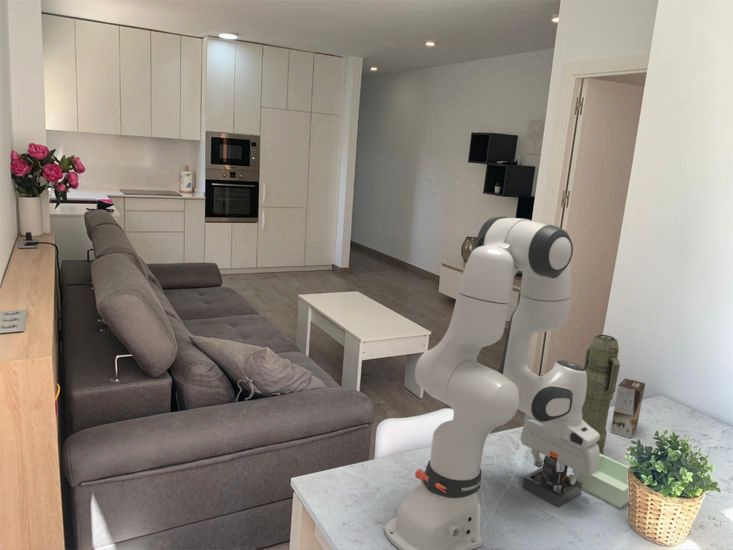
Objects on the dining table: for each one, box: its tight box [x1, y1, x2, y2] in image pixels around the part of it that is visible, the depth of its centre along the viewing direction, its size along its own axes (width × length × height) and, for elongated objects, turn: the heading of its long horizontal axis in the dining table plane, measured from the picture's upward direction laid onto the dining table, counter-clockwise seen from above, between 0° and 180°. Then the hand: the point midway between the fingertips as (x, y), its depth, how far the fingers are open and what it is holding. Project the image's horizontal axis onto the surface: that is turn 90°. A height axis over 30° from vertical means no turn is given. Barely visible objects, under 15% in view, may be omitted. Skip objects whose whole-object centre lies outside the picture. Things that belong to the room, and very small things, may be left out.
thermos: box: [582, 334, 621, 455], centre depth 167 cm, size 9×12×35 cm
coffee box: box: [609, 378, 646, 439], centre depth 184 cm, size 9×6×16 cm
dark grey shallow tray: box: [521, 466, 583, 508], centre depth 147 cm, size 10×10×3 cm
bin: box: [573, 454, 630, 510], centre depth 150 cm, size 13×13×5 cm
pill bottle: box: [539, 451, 569, 493], centre depth 146 cm, size 6×6×11 cm
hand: (554, 474), depth 146 cm, fingers open, 8 cm apart
